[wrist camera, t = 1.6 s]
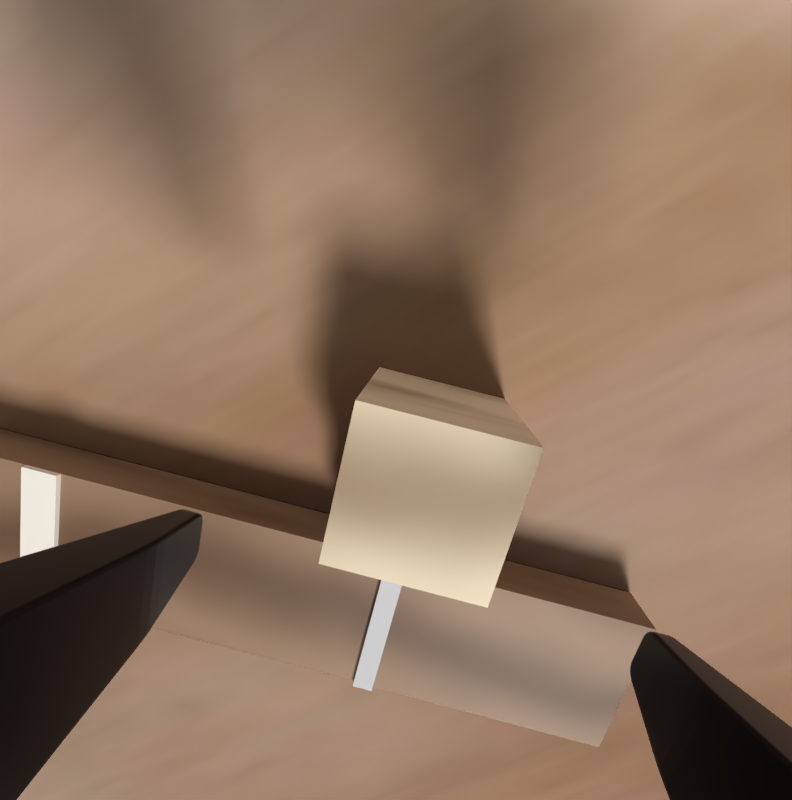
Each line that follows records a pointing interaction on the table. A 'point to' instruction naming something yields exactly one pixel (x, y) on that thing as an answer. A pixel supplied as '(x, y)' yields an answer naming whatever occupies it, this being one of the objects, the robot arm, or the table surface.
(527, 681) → the walnut plank
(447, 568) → the cream cube
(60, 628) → the robot arm
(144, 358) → the table surface
